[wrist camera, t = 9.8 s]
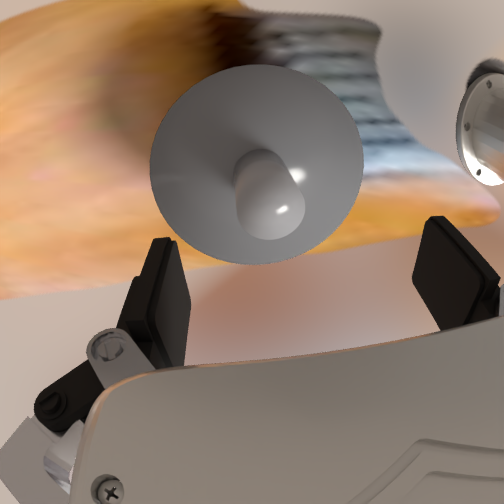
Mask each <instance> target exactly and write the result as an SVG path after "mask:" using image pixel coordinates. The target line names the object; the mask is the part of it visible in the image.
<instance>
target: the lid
mask: <svg viewBox="0 0 504 504" xmlns="http://www.w3.org/2000/svg"><path fill="white" fill-rule="evenodd" d="M363 168H364V160H363V148H362V142H361V138H360V135H359V132H358V129H357V126H356V124H355V122H354V120H353V118H352V116H351V114H350V113H349V111H348V110H347V108H346V107H345V105H344V104H343V103H342V102H341V101H340V99H339V98H338V97H337V96H336V95H335V94H334V93H333V92H332V91H330V90H329V89H328V88H327V87H326V86H325V85H323V84H321V83H320V82H318V81H317V80H315V79H314V78H312V77H310V76H308V75H305V74H303V73H301V72H299V71H296V70H292V69H289V68H285V67H280V66H273V65H244V66H237V67H233V68H229V69H226V70H222V71H219V72H217V73H215V74H213V75H211V76H208V77H206V78H205V79H203V80H201V81H200V82H198V83H197V84H195V85H194V86H192V87H191V88H190V89H189V90H188V91H186V92H185V93H184V94H183V95H182V96H181V97H180V98H179V99H178V100H177V101H176V102H175V103H174V105H173V106H172V107H171V108H170V109H169V111H168V112H167V114H166V115H165V117H164V119H163V120H162V122H161V124H160V126H159V128H158V131H157V133H156V135H155V139H154V142H153V146H152V150H151V157H150V180H151V186H152V191H153V194H154V197H155V201H156V203H157V205H158V207H159V210H160V212H161V214H162V215H163V217H164V218H165V220H166V221H167V223H168V224H169V226H170V227H171V228H172V229H173V230H174V231H175V233H176V234H177V235H178V236H180V237H181V238H182V239H183V240H184V241H185V242H186V243H188V244H189V245H191V246H192V247H193V248H195V249H197V250H198V251H200V252H202V253H204V254H206V255H208V256H211V257H213V258H216V259H219V260H222V261H226V262H230V263H236V264H245V265H246V264H247V265H260V264H270V263H276V262H281V261H284V260H287V259H291V258H293V257H296V256H298V255H301V254H303V253H305V252H307V251H309V250H311V249H312V248H314V247H316V246H317V245H318V244H320V243H321V242H323V241H324V240H325V239H326V238H328V237H329V236H330V235H331V234H332V233H333V232H334V231H335V230H336V229H337V228H338V227H339V226H340V225H341V223H342V222H343V221H344V219H345V218H346V216H347V215H348V214H349V212H350V210H351V208H352V206H353V205H354V203H355V200H356V198H357V195H358V193H359V189H360V186H361V182H362V176H363Z"/></svg>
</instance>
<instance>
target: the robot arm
mask: <svg viewBox="0 0 504 504" xmlns="http://www.w3.org/2000/svg"><path fill="white" fill-rule="evenodd" d="M456 142H457V150H458V153H459V157H460V160H461V162H462V164H463V166H464V168H465V169H466V171H467V172H468V173H469V174H470V175H471V176H472V177H473V178H474V179H476V180H477V181H479V182H481V183H482V184H486V185H498V184H501V183H503V182H504V75H503V74H499V73H487V74H484V75H482V76H480V77H479V78H477V79H476V80H475V81H474V82H473V83H472V84H471V85H470V86H469V88H468V89H467V91H466V92H465V94H464V96H463V99H462V101H461V104H460V107H459V111H458V115H457V123H456ZM499 281H500V276H498V274H497V273H496V272H495V270H494V269H493V268H492V267H491V266H490V265H489V263H488V262H487V261H486V260H485V259H484V258H483V257H482V255H481V254H480V253H479V252H478V251H477V250H476V249H475V248H474V247H473V246H472V245H471V243H470V242H469V241H468V240H467V239H466V238H465V237H464V236H463V235H462V234H461V233H460V232H459V231H458V230H457V229H456V228H455V227H454V226H453V225H452V224H451V223H450V222H449V221H448V220H447V219H446V218H445V217H444V216H431V217H430V218H429V219H428V220H427V221H426V222H425V225H424V230H423V234H422V239H421V243H420V247H419V251H418V255H417V259H416V263H415V267H414V271H413V275H412V282H413V284H414V286H415V288H416V289H417V291H418V293H419V294H420V296H421V298H422V299H423V301H424V303H425V304H426V306H427V308H428V309H429V311H430V313H431V314H432V316H433V318H434V320H435V321H436V323H437V325H438V327H439V329H440V330H441V331H438V332H434V333H429V334H425V335H420V336H415V337H410V338H405V339H400V340H395V341H390V342H385V343H380V344H374V345H368V346H362V347H356V348H350V349H343V350H336V351H330V352H322V353H316V354H307V355H299V356H291V357H282V358H272V359H262V360H250V361H239V362H229V363H228V362H227V363H215V364H201V365H189V366H184V359H185V351H186V342H187V333H188V326H189V318H190V310H191V299H190V295H189V291H188V287H187V283H186V279H185V275H184V271H183V267H182V263H181V259H180V255H179V250H178V246H177V242H176V241H171V239H170V237H164V238H155V239H153V241H152V244H151V247H150V249H149V252H148V255H147V257H146V260H145V263H144V266H143V268H142V271H141V274H140V276H136V277H134V279H133V280H132V283H131V286H130V289H129V291H128V294H127V297H126V300H125V303H124V306H123V308H122V311H121V314H120V317H119V320H118V323H117V327H116V328H110V329H105V330H103V331H101V332H99V333H98V334H96V335H95V336H94V337H93V338H92V339H91V340H90V342H89V343H88V346H87V350H86V354H87V357H88V360H86V361H85V362H83V363H82V364H80V365H79V366H78V367H76V368H74V369H73V370H72V371H70V372H69V373H67V374H66V375H64V376H63V377H61V378H60V379H58V380H57V381H55V382H54V383H53V384H51V385H50V386H48V387H47V388H45V389H44V390H43V391H42V392H41V393H40V394H39V395H38V397H37V398H36V401H35V403H34V413H35V414H34V416H33V417H32V418H31V419H30V418H29V417H27V418H26V419H25V420H24V421H23V422H22V424H21V425H20V426H19V427H18V428H17V430H16V431H15V432H14V433H13V435H12V436H11V437H10V438H9V439H8V440H7V442H6V443H5V444H4V446H3V447H2V448H1V449H0V479H1V480H2V482H3V483H4V484H5V485H6V487H7V488H8V489H9V491H10V492H11V493H12V494H13V496H14V497H15V498H16V499H17V500H18V502H19V503H20V504H504V284H503V285H502V286H501V288H500V287H499V286H498V283H499ZM75 457H76V459H75ZM73 465H74V469H73V474H72V481H71V484H70V480H69V473H70V470H71V468H72V467H73ZM120 481H121V482H120ZM114 487H115V488H114Z"/></svg>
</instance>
